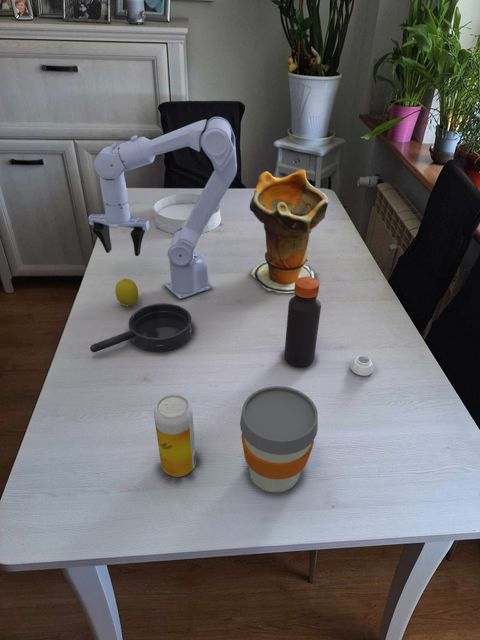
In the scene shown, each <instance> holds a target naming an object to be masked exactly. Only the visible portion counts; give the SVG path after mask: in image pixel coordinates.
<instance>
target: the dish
mask: <svg viewBox="0 0 480 640" xmlns="http://www.w3.org/2000/svg"><path fill="white" fill-rule="evenodd" d="M200 195H201V194H198V193H197V194H195V193H180V194H173V195H168V196H166V197H163V198H161V199H159V200H157V201H156V202H155V204H154V207H153V210H154V223H155V225H156V227H157V228H158V229H159V230H161V231H163V232H166V233H168V234H173V233H174V232H175V231H176V230H177V229H179V228H180V227H181V226H182V225H183V223H184V222H185V221H186V220H187V218H188V216H189V215H190V213H191V211H192V209H193V207H194V206H195V204H196V202H197V200H198V198H199V197H200ZM220 224H221V207H220V203H219V204H218V206H217V208H216V210H215V211H214V213H213V215H212V216H211V218H210V220H209V221H208V223H207V225H206V226H205V228H204V230H203V232H202V233H201V235H202V234H206V233H209V232H211V231H213V230H215V229H216V228H218V226H220Z"/></svg>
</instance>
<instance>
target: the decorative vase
mask: <svg viewBox="0 0 480 640" xmlns="http://www.w3.org/2000/svg"><path fill="white" fill-rule="evenodd" d="M253 191H254V192H253V196H252V197H251V200H250V202H249V210H250V211H251V212H252V213H253V215H254V216H255V218H256V219H257V220H258V221H259V222H260V223H261V224H263V230H264V234H265V246H266V247H265V248H266V252H265V253H264V258H265V260H264V262H261V263H259V264H258V265H256V266H255V268H254V269H252V272H251V275H252V276H253V278H254V279H257V282H258V283H259V284H260V285H261V286H262V288H263V289H266V290H267V291H268V292H271V291H273V292H276V293H277V294H290V293H291V294H293V293H295V281H296V280H297V279H298V278H301V277H312V278H314V279H315V273H314V272H313V270H311V267H310V266H307V265H306V263H307V262H309V261H308V258H307V257H306V255H307V250H308V246H309V242H310V235H311V233H312V231H313V230H314V229H315V228H316V227H318V225H319V224H320V223H321V222H322V220H324V219H325V218H326V214H327V209H328V206H329V202H330V199H329V198H328V196H327V195H326V194H325V193H324V192H323V191H321V190H320V189H318V188H317V187H315V186H313V184H311V183H310V182H309V181H308V178H307V171H306V170H305V169H299V170H296V171H295V172H293V173H291V174H288V175H286V176H282V177H275V176H273V175H272V173H270V172H269V171H264V172H262V173H260V175H259V176H258V181H257V185H256V187H255V189H254V190H253Z"/></svg>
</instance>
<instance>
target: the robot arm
mask: <svg viewBox="0 0 480 640" xmlns="http://www.w3.org/2000/svg"><path fill="white" fill-rule="evenodd" d="M187 147H189V148H191V149H193V150H195V151H197V152H201V149H202V150H203V152H204V154H205V155H206V157H208V158H209V160H210V161H211V164H212V166H213V169H214V170H213V171H212V173H211V175H210V177H209V179H208V180H207V182H206V184H205V186H204V187H203V189H202V192H201V193H200V194H199V195H200V197H199V198H198V200H197V202H196V204H195V206H194V207H193V209H192V211H191V213H190V215H189V216H188V218H187V220H186V221H185V222H184V223H183V225H182V226H181V227H180V228H179V229H177V230H176V231H175V232H174V233H172V236H171V242H170V245H169V248H167V257H168V262H169V273H170V281H171V282H170V283H166V284H165V287H166V289H168V290H169V291H170V292H171V293H172V294H173V295H174V296H176V297H177V298H178V299H179V300H183V299H185V298H189V297H191V296H194V295H197V294H199V293H202V292H205V291H207V290H210V289H211V287H210V286H209V268H208V263H207V260H206V259H205V256H203V254H201V253H196V251H195V248H196V247H197V245H198V242H199V240H200V238H201V235H202V234H203V233H202V232H203V230H204V228H205V226H206V225H207V223H208V221H209V220H210V218H211V216H212V215H213V213H214V211H215V210H216V208H217V206H218V204H219V205H220V203H221V201H222V199H223V198H224V196H225V194H226V193H227V191H228V189H229V187H230V186H231V184H232V182H233V181H234V179H235V177H236V175H237V170H238V163H237V151H236V150H237V149H236V148H237V147H236V136H235V133H234V131H233V128H232V126H231V124H230V122H229V121H228V119H226V118H225V117H221V116H213V117H210V119H208V120H207V119H201V120H199V121H195V122H192V123H190V124H187V125H185V126H183V127H180V128H178V129H175V130H173V131H170V132H167V133H165V134H163V135H160V136H158V137H155V138H152V139H149V138H147V137H145V136H139V137H138V135H133V136H131V137H130V140H128V141H126V142H123V143H119V144H117V143H113V144H111V146H105V147H103V149H101V150H100V152H99V153H98V154H97V156H96V157H95V159H94V163H93V168H94V170H95V172H96V174H97V175H98V176H99V181H100V183H99V184H100V190H101V196H102V201H103V202H102V203H103V209H104V213H102V214H93V213H92V214H90V215H89V216H88V224H89V226H93V228H92V233H94V234H95V236H96V237H97V238H98V239H99V241H100V243H101V245H102V247H103V249H104V251H105V253H106V254H109V253H110V252H111V251H112V249H113V248H112V241H111V236H110V235H111V234H110V229H118V228H129V229H132V230H131V232H130V238H131V240H132V243H133V244H132V245H133V251H134V256H135V257H139V255H140V254H141V249H142V242H143V239H144V235H145V233H146V232H147V231H148V230H149V229H150V221H149V219H144V218H140V217H136V216H133V215H131V212H130V205H129V197H128V189H127V182H126V177H125V172H129V171H132V170H135V169H138V168H141V167H144V166H147V165H150V164H153V162H154V161H155V158H156V156H159V155H162V154H166V153H168V152H172V151H176V150H179V149H182V148H187ZM201 233H202V234H201Z"/></svg>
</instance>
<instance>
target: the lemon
mask: <svg viewBox="0 0 480 640" xmlns="http://www.w3.org/2000/svg"><path fill="white" fill-rule="evenodd" d="M114 292H115V293H114V294H115V297H116V301H118V303H119V304H120V305H122V306H126V307H131V306H132V305H134V304H136V303H137V301H138V299H139V289H138V286H137V284H136V283H135V281H134V280H132V279H130V278H126V277H125V278H122V279H120V280H119V281H118V282H117V283H116V285H115V291H114Z"/></svg>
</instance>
